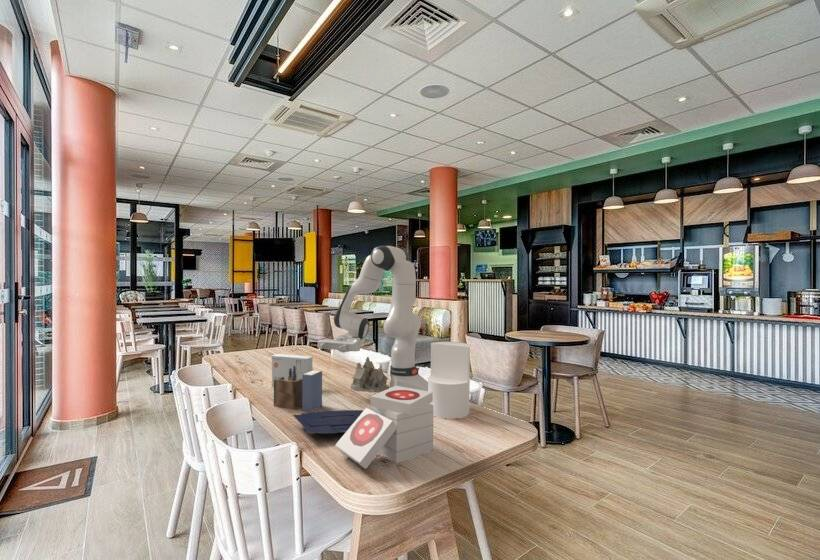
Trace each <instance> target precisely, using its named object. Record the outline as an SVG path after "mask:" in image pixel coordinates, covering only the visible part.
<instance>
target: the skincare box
mask: <svg viewBox="0 0 820 560" xmlns="http://www.w3.org/2000/svg"><path fill="white" fill-rule="evenodd" d="M313 370H314V369H313V356H308V355H299V354H298V355H295V354H286V353H285V354H284V353H283V354H282V353H276V354H273V355H271V386H272V387H274V379H277V378H279V377H284V380H290V381H295V380H298V379H302V375H303V374H305V373H308V372H310V371H313Z"/></svg>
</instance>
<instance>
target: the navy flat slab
mask: <svg viewBox="0 0 820 560" xmlns="http://www.w3.org/2000/svg"><path fill="white" fill-rule="evenodd" d="M363 411H364V409H356V410H355V409H354V410H353V409H352V410H349V409H344V410H328V411H327V410H325V411H316V412H315V411H314V412H312V411H310V412H304V413H303V412H302V413H300V414H292V416H293V417H294V418H295V419H296V421H298V423H300V425H301V426H302V427H303V428H304V430H305V431H307V433H308V434H319V435H321V434H341V433H346V431H347V430H348V429H349V428H350V427H351V425H352V424H353V423H354V422H355V421H356V419H357V418H358V417H359V416H360V415H361V413H362V412H363Z"/></svg>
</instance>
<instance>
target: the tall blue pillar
mask: <svg viewBox="0 0 820 560" xmlns="http://www.w3.org/2000/svg"><path fill="white" fill-rule="evenodd" d="M322 406H323V371H322V370H314V369H313V371H310V372H308V373H305V374H303V375H302V406H301V407H302V409H301V410H302V411H305V412H306V411H307V412H312V411H315V410H316V409H318V408H321V407H322Z"/></svg>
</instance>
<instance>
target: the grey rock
mask: <svg viewBox="0 0 820 560" xmlns="http://www.w3.org/2000/svg"><path fill="white" fill-rule="evenodd" d="M387 381H388V377H387V376H386V375H385V374H384V371H383V369H382V368H379V369H378V368H375V366H374V363H373V361H372V360H370V357H369V356H366V359H365V362H364V364H363V366H362V364H361V362H356V368H355V373H354V374H353V376H352V383H351V386H350V390H352V391H358V392H371V391H372V392H376V391H377V392H379V391H380V392H381V391H384V390H387V389H388V385H387V383H388V382H387Z"/></svg>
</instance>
